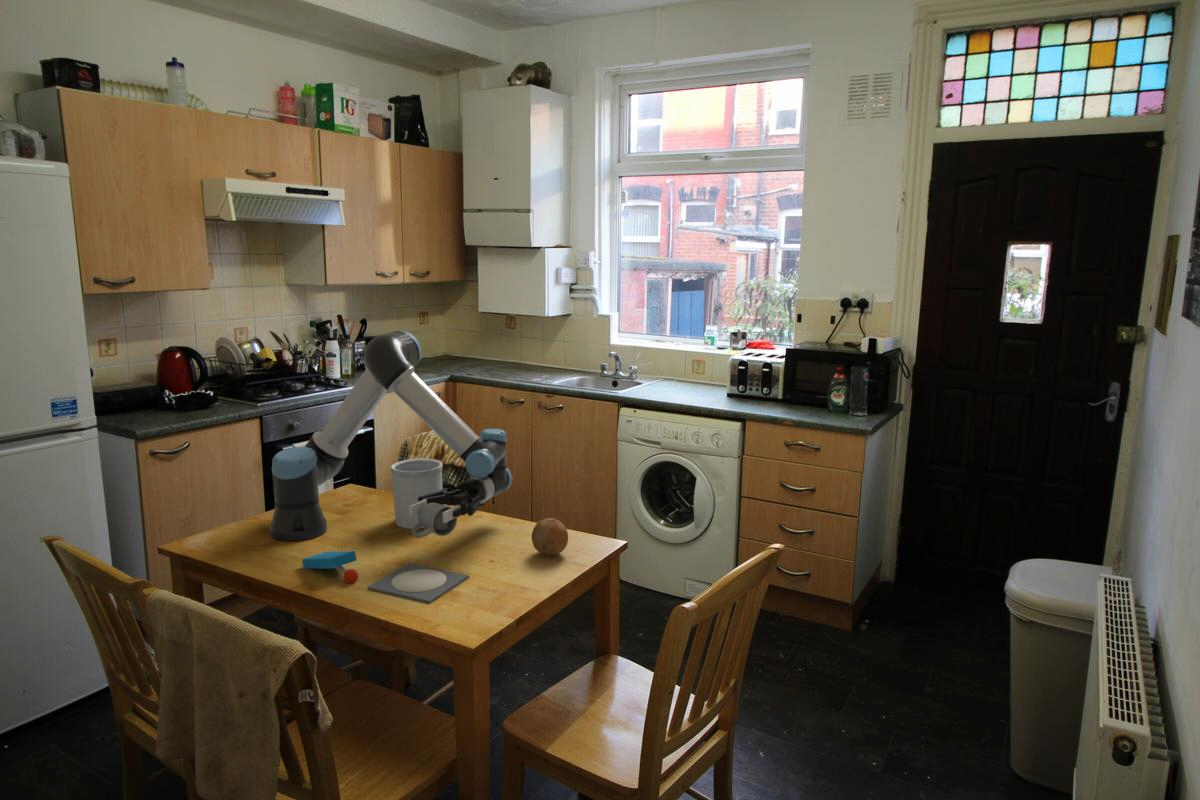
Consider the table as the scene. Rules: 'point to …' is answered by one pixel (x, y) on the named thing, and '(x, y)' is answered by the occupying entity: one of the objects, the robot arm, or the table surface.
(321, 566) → the lever
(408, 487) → the utensil holder
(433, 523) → the ceramic mug
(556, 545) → the reddish-brown ball
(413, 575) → the mat
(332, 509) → the table surface
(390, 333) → the robot arm
